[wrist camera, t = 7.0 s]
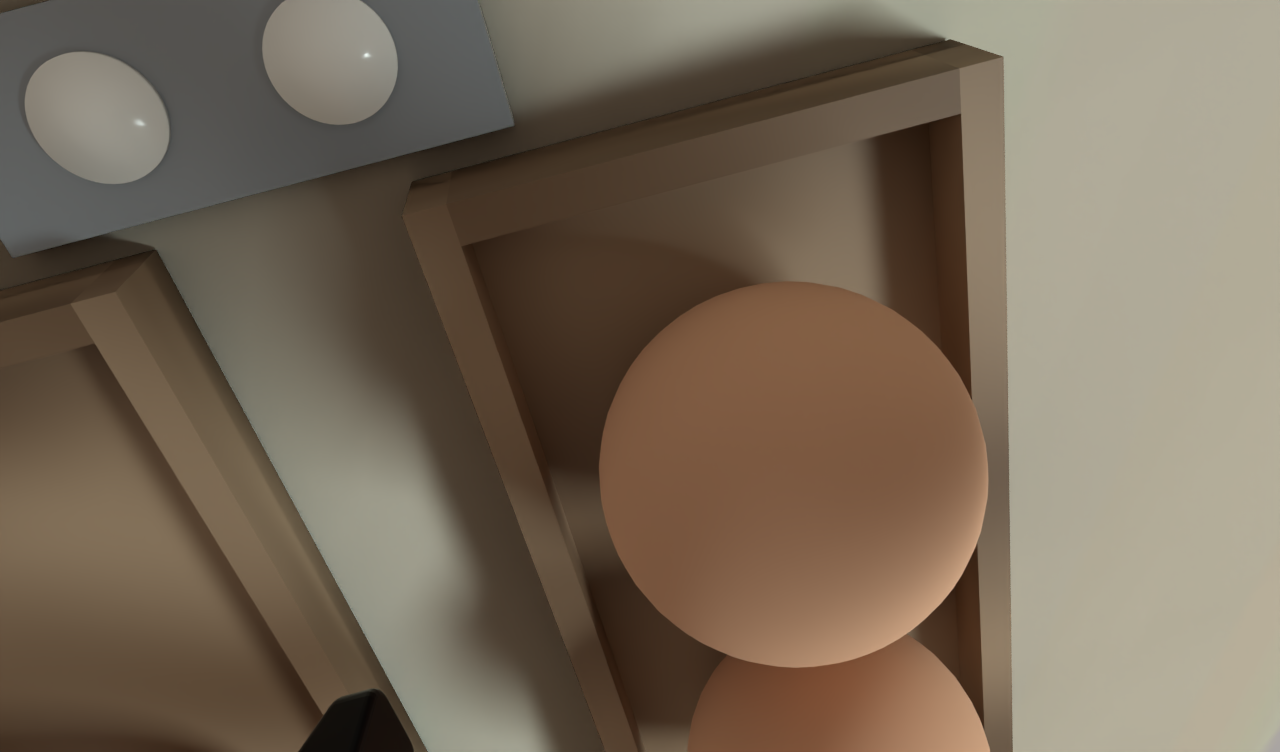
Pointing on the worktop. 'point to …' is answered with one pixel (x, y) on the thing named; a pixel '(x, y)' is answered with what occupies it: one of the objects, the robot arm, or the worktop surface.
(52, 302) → the trough
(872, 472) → the ball
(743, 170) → the trough
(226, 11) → the card
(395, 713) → the robot arm
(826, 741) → the ball
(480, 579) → the worktop surface
